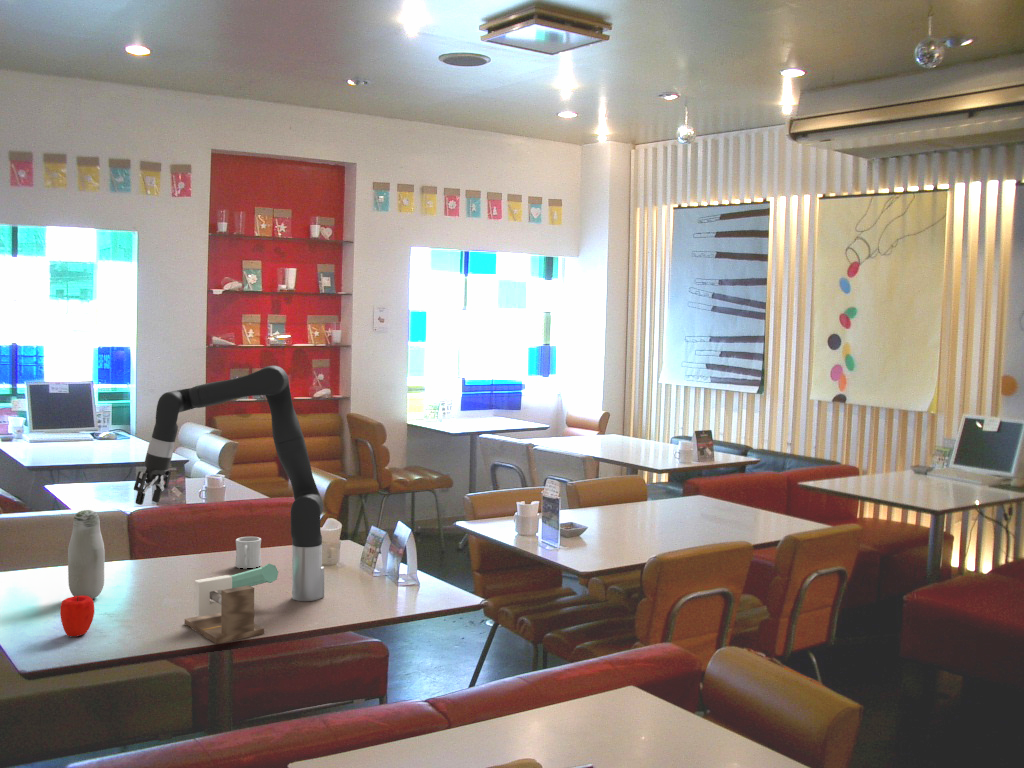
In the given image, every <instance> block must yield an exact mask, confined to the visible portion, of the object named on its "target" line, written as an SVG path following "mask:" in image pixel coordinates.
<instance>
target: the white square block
mask: <svg viewBox="0 0 1024 768" xmlns="http://www.w3.org/2000/svg"><path fill="white" fill-rule="evenodd" d="M231 588H232V577H231V575H229V574H224V575H219V576H213V577H212V576H211V577H207V578H201V579H195V580H194V616H195V617H197V616H198V617H202V616H207V615H213V614H218V613H221V604H219V603H217V602H215V601H213V600H211V599H210V592H211V591H215V592H217V593H219V594H221V590H225V589H231Z"/></svg>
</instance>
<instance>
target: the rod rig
mask: <svg viewBox="0 0 1024 768" xmlns="http://www.w3.org/2000/svg"><path fill="white" fill-rule="evenodd" d="M212 600H213V601H215V602H217V603H219V604H221V613H218V614H213V615H207V616H202V617H198V616H193V617H188V618H184V625H185V624H186V626H187V625H188V626H187V627H189V626H190V627H191V629H192V628H193V629H194V630H193V629H192V630H193V631H195V630H196V631H195V632H196V633H198V632H199V633H198V634H200V635H201V634H202V636H203V637H205V638H207V639H208V640H210V641H211V642H213V643H214V644H222V643H225V642H226V643H227V642H230V641H236V640H241V639H246V638H249V637H255V636H260V635H264V634H265V628H264V627H262V626H261V625H259V624H256V623H255V587H253V586H249V585H248V586H242V587H236V588H231V589H225V590H221V594H219V593H217V591H211V592H210V601H212ZM190 627H189V628H190Z"/></svg>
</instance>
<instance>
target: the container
mask: <svg viewBox="0 0 1024 768" xmlns="http://www.w3.org/2000/svg"><path fill="white" fill-rule="evenodd" d="M230 576H231V577H232V588H236V587H242V586H248V585H249V586H251V587H253V586H258V585H262V584H265V583H268V584H271V583H273V582H275V581H276V580H278V577H279V570H278V568H277V567H276V565H275V564H272V563H267V564H266V565H264V566H260V567H258V568H253V569H248V570H246V571H243V572H239V573H236V574H232V575H230Z"/></svg>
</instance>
